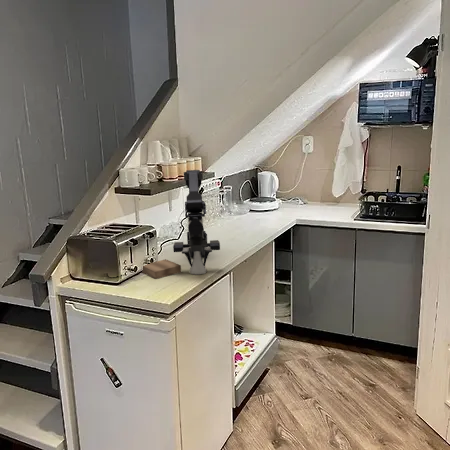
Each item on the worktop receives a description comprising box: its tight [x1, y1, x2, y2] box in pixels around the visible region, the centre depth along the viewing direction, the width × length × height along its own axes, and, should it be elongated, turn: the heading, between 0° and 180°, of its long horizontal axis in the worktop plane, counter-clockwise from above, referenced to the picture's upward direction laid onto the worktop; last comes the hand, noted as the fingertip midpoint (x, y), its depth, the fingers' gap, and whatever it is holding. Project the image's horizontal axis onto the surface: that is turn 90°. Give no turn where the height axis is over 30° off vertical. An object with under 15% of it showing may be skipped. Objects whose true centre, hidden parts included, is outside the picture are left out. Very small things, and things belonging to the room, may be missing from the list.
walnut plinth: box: [141, 258, 182, 280], centre depth 189 cm, size 12×12×3 cm
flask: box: [188, 251, 208, 275], centre depth 186 cm, size 7×7×10 cm
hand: (197, 266), depth 187 cm, fingers closed on flask, 5 cm apart
